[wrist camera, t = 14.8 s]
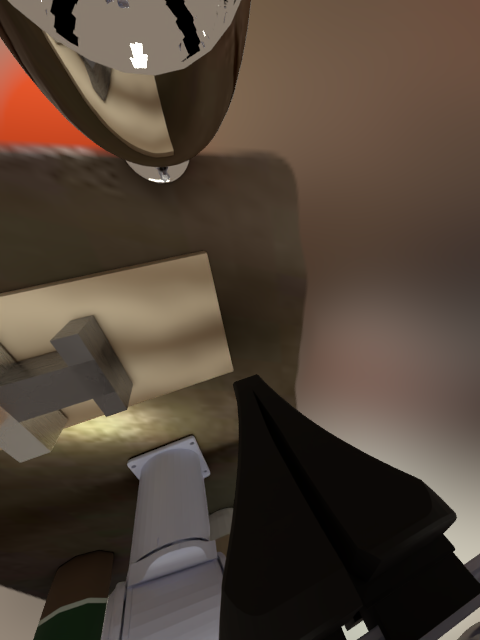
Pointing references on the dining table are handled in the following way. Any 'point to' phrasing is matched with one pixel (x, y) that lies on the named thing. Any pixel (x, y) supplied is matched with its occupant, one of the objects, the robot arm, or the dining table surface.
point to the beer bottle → (77, 599)
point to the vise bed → (129, 324)
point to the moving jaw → (58, 387)
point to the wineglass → (134, 71)
